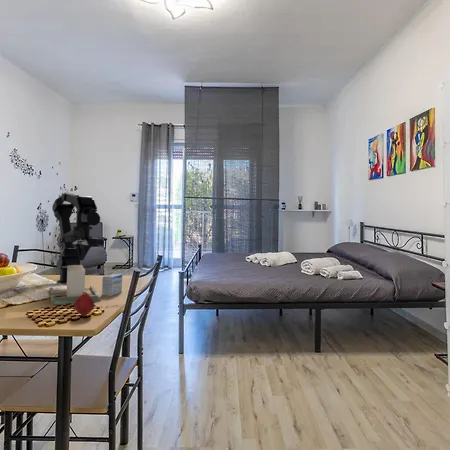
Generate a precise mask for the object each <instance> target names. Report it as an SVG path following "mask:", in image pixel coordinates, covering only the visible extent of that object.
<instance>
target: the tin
mask: <svg viewBox="0 0 450 450" xmlns="http://www.w3.org/2000/svg"><path fill="white" fill-rule="evenodd" d="M85 284H86V269H85V268H84V266H83V264H80V265H67V283H66V289H67V292H66V295H67V297H73V296H80V295H82V294H83V292H84V288H85V286H86V285H85Z"/></svg>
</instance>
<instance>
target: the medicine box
mask: <svg viewBox="0 0 450 450" xmlns="http://www.w3.org/2000/svg"><path fill="white" fill-rule="evenodd" d="M101 285H102V286H101V294H102V296H109V297H110V296H111V297H112V296H115V295H117V294H120V293H122V292H123V274H120V273H112V274H107V275H105V276H102V284H101Z"/></svg>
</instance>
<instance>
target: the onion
mask: <svg viewBox="0 0 450 450" xmlns="http://www.w3.org/2000/svg"><path fill="white" fill-rule="evenodd" d="M88 294H89V293H87V291H84V292H83V294H82V295H80V296H79V297H78V298H77V300H76V301H75V303H74V309H75V311H76V312H77V313H78V314H80V316H82V317H86V316H87V315H89V314H90V313H91V312H92V311H93V310H94V308H95V302H94V300H93V298H92V297H91V296H90V295H88ZM85 315H86V316H85Z"/></svg>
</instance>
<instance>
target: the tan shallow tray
mask: <svg viewBox="0 0 450 450" xmlns="http://www.w3.org/2000/svg"><path fill="white" fill-rule="evenodd" d="M84 291H85V292H87V291H91V293H87V294H88V295H90V296H91V297H92V298H93V300H94V303H95V302H101V301H102V298H101V295H100V293H99V292H97V290H96V288H94V285H89V288H88V287H87V288H84ZM66 292H67V288H66V289H53V287H49V297H50V304H51V305H61V304H75V301H76V300H77V298H78V297H79V296H73V297H67V295H66Z"/></svg>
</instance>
